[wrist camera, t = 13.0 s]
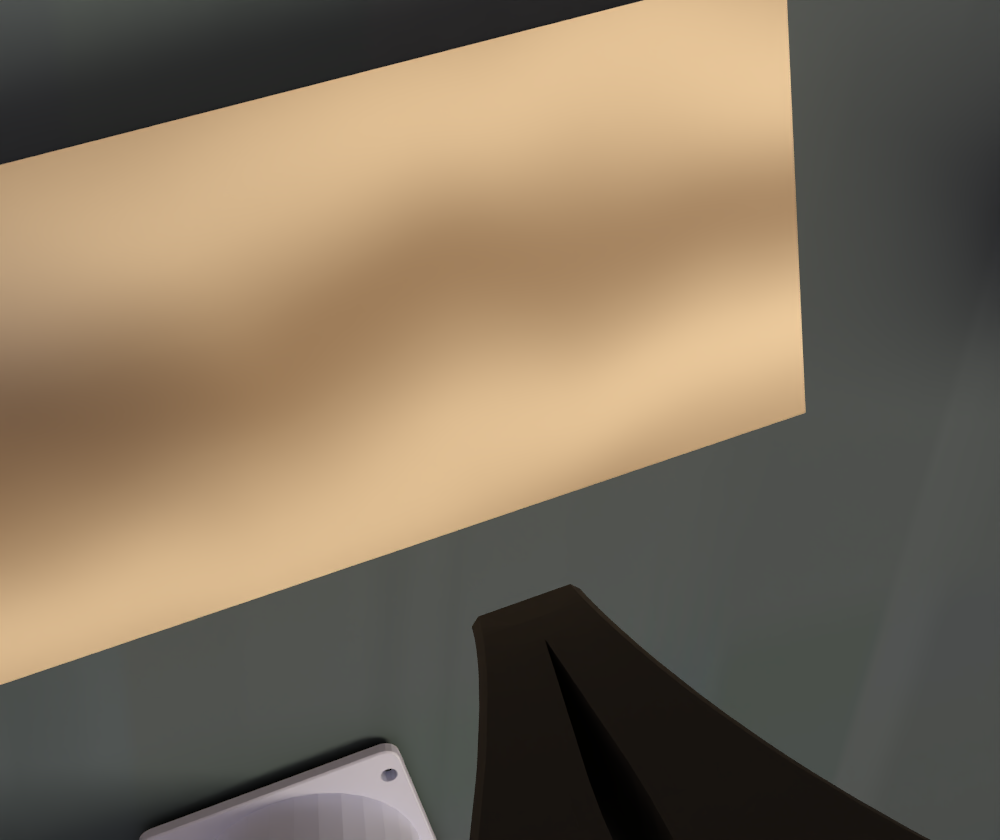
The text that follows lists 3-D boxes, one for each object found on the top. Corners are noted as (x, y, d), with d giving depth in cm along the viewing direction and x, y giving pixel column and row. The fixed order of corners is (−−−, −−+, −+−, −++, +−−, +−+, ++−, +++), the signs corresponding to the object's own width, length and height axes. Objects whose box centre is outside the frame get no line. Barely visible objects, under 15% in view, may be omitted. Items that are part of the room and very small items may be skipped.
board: (718, 357, 21) (805, 412, 17) (-203, 653, 18) (-328, 795, 14) (681, -10, 17) (784, -37, 13) (-517, 296, 14) (-801, 370, 10)
